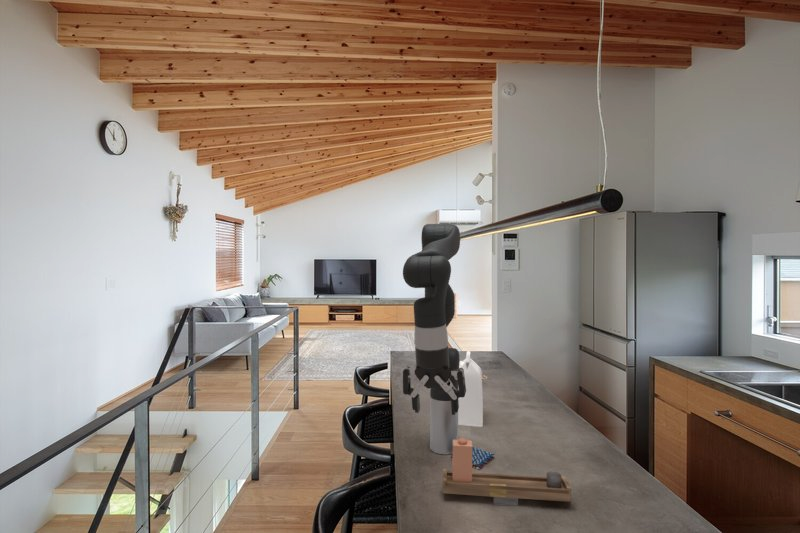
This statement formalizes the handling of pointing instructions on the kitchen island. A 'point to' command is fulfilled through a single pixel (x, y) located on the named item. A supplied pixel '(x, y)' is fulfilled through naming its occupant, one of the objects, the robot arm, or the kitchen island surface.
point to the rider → (462, 460)
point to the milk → (471, 394)
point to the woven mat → (480, 457)
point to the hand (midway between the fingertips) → (435, 412)
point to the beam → (510, 487)
